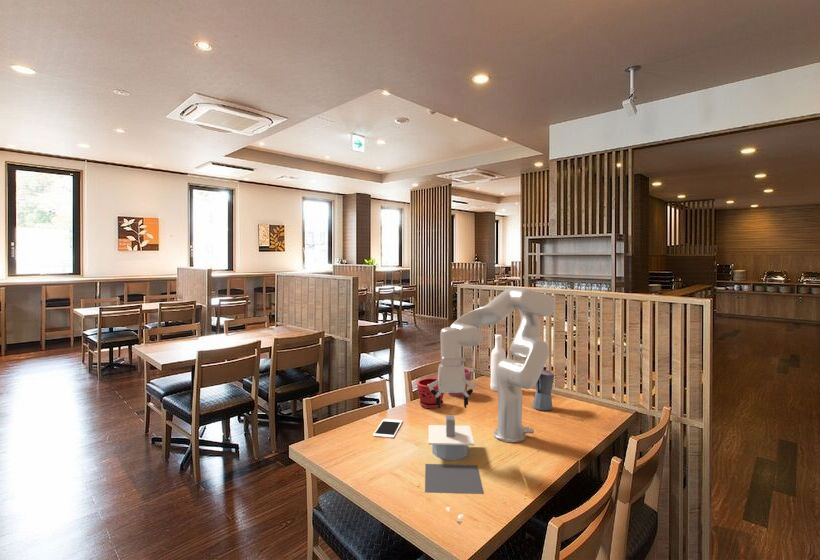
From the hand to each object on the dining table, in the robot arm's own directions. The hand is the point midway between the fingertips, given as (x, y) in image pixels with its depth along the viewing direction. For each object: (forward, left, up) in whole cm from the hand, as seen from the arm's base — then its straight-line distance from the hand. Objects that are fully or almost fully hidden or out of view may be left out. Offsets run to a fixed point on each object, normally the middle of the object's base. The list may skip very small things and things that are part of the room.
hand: (452, 406), depth 160 cm
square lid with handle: (+1, 0, -11) cm, 11 cm away
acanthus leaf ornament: (-1, +37, -19) cm, 42 cm away
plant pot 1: (+8, -51, -18) cm, 54 cm away
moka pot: (-46, -50, -18) cm, 70 cm away
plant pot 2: (-6, -69, -18) cm, 71 cm away
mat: (+1, +19, -18) cm, 26 cm away
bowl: (+1, 0, -18) cm, 18 cm away
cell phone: (+26, -22, -18) cm, 38 cm away
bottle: (-29, -79, -18) cm, 86 cm away
